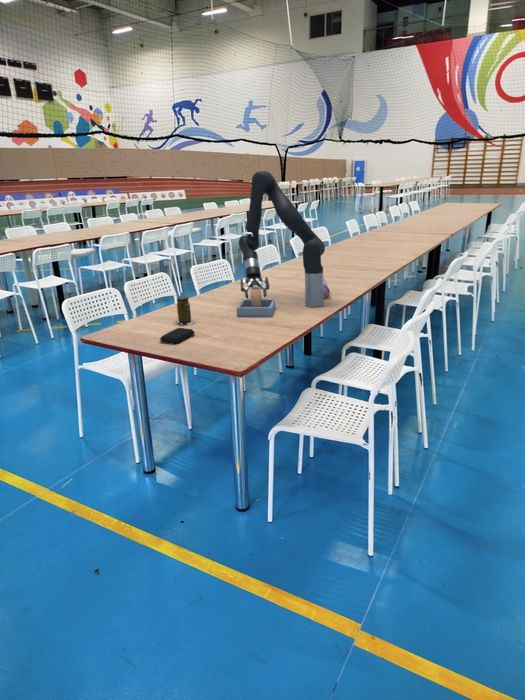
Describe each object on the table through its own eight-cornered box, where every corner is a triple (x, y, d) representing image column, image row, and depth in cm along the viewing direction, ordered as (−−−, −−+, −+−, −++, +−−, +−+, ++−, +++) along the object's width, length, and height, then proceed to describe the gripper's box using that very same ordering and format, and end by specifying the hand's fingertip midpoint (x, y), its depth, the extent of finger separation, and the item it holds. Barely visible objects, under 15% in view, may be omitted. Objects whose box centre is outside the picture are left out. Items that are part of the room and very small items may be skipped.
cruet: (262, 308, 242) (261, 284, 237) (261, 311, 237) (259, 287, 232) (252, 308, 243) (251, 284, 238) (250, 311, 238) (249, 287, 233)
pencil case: (329, 299, 257) (330, 283, 253) (312, 300, 257) (312, 283, 254) (326, 289, 277) (326, 274, 273) (310, 290, 277) (310, 274, 274)
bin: (275, 307, 246) (275, 299, 244) (271, 317, 231) (271, 308, 230) (243, 307, 249) (242, 299, 247) (237, 316, 234) (236, 308, 232)
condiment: (189, 319, 234) (186, 295, 230) (195, 323, 227) (193, 298, 223) (175, 321, 231) (172, 297, 227) (181, 326, 224) (178, 301, 220)
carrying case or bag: (178, 346, 200) (198, 335, 212) (178, 339, 199) (197, 328, 211) (158, 343, 205) (178, 332, 217) (157, 336, 203) (178, 326, 216)
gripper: (238, 266, 238) (242, 294, 232) (266, 264, 240) (271, 292, 233) (238, 274, 245) (241, 302, 238) (266, 272, 246) (270, 299, 240)
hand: (256, 297), depth 236 cm, fingers open, 8 cm apart
